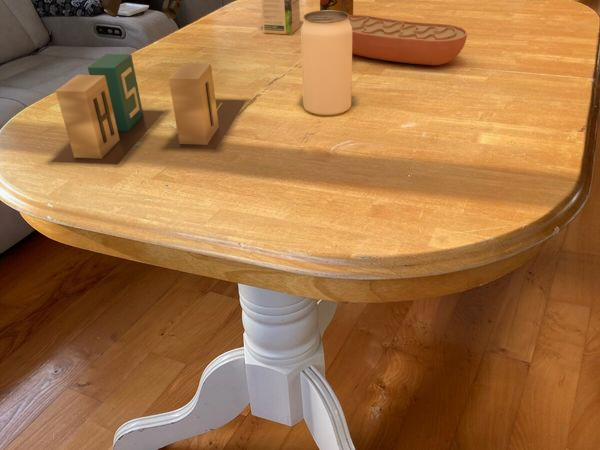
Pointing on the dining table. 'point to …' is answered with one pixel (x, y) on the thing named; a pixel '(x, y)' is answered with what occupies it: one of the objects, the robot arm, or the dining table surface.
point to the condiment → (337, 5)
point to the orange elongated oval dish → (405, 40)
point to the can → (326, 62)
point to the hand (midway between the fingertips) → (138, 13)
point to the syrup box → (280, 16)
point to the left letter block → (96, 123)
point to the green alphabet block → (120, 88)
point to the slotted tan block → (199, 108)
